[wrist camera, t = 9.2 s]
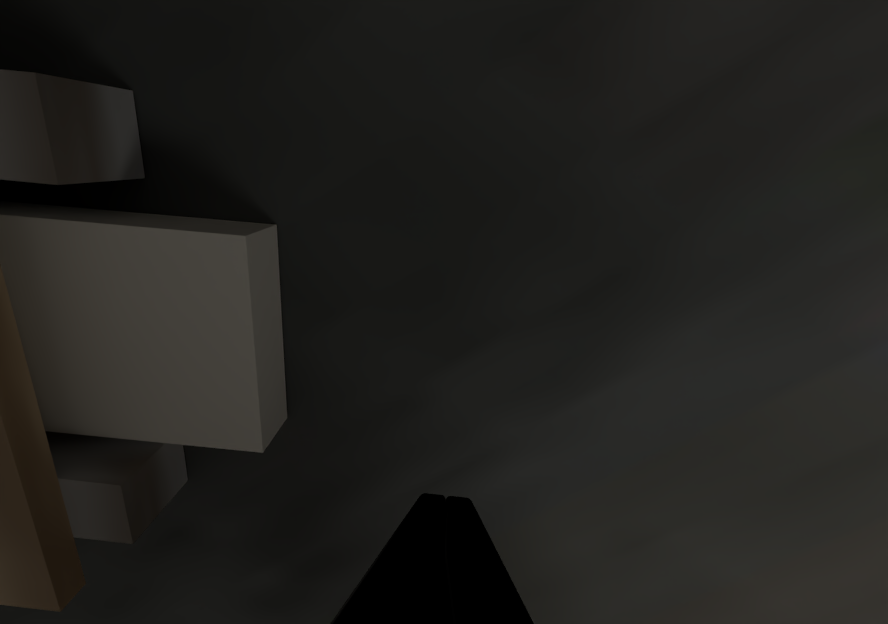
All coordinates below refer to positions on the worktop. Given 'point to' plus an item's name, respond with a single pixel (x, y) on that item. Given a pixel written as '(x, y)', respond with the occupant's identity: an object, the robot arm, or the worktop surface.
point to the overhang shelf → (8, 379)
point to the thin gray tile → (148, 324)
